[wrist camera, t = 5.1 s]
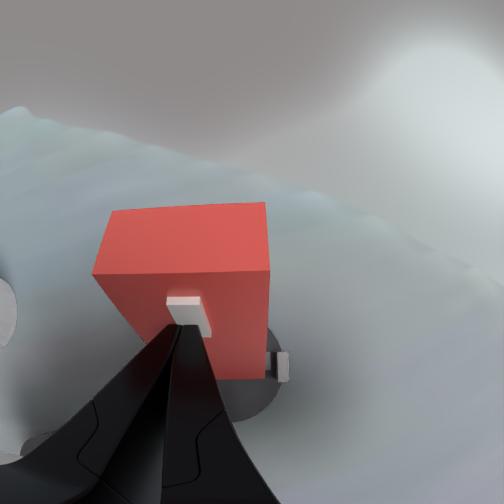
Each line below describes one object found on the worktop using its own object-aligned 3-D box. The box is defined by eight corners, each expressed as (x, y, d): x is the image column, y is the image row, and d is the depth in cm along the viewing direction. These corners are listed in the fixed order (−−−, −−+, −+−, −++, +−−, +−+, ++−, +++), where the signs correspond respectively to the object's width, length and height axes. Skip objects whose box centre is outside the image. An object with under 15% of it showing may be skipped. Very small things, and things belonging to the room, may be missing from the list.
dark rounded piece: (284, 412, 16) (290, 428, 13) (176, 412, 16) (157, 426, 13) (280, 310, 18) (286, 302, 14) (173, 312, 18) (154, 304, 14)
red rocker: (271, 387, 14) (285, 278, 6) (176, 386, 14) (78, 282, 6) (268, 344, 15) (277, 202, 8) (179, 345, 15) (102, 211, 8)
